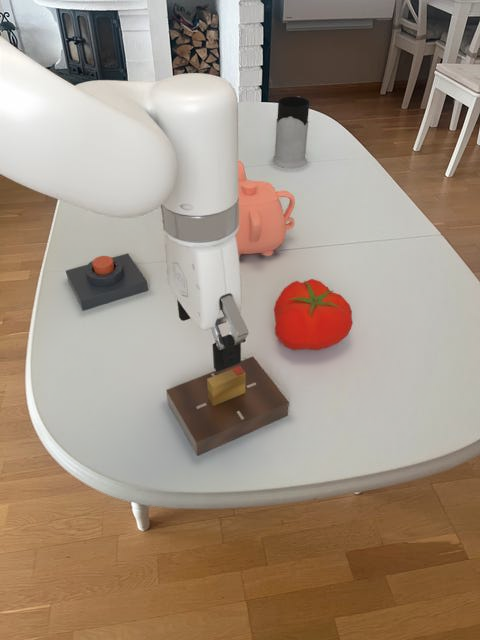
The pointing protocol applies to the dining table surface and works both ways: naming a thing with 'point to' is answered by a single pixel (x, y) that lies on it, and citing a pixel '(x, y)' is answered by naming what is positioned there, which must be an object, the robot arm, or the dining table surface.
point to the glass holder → (291, 132)
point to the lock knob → (226, 385)
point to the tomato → (311, 316)
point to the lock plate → (226, 408)
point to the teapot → (261, 216)
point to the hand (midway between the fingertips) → (208, 339)
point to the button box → (106, 282)
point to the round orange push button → (103, 265)
